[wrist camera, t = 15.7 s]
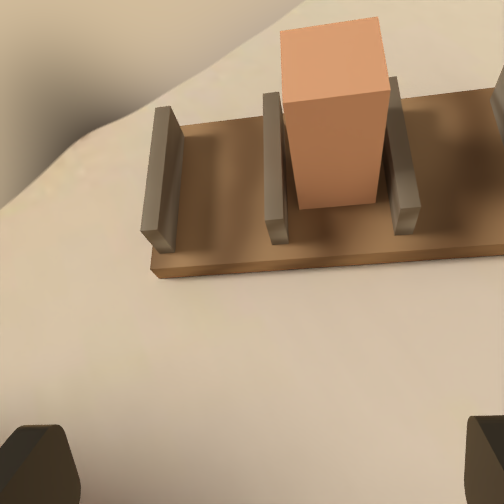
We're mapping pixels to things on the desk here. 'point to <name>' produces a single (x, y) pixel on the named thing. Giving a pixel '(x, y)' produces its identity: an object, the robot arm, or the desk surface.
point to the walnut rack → (330, 218)
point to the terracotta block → (335, 110)
